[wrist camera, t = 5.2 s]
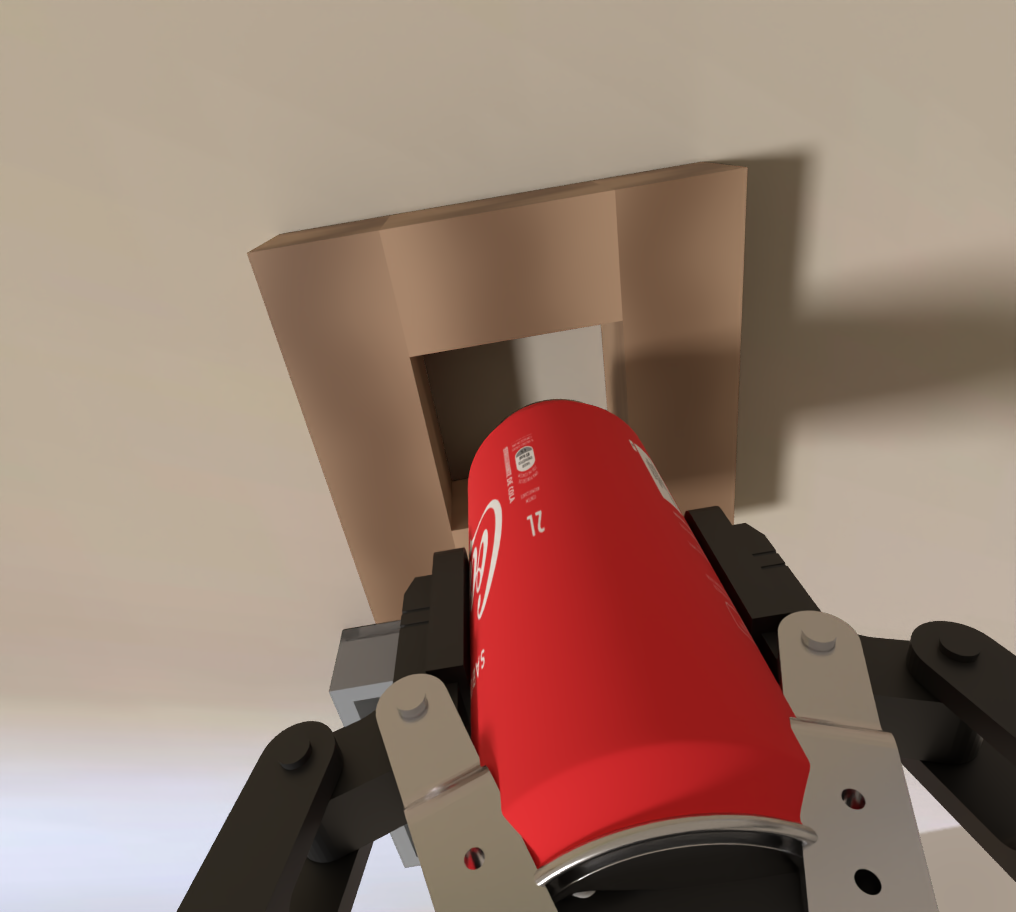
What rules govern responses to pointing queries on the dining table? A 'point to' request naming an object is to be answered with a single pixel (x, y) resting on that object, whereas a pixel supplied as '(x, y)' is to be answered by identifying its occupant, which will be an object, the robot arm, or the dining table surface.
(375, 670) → the tray
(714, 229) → the socket holder
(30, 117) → the dining table surface
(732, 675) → the beverage can
